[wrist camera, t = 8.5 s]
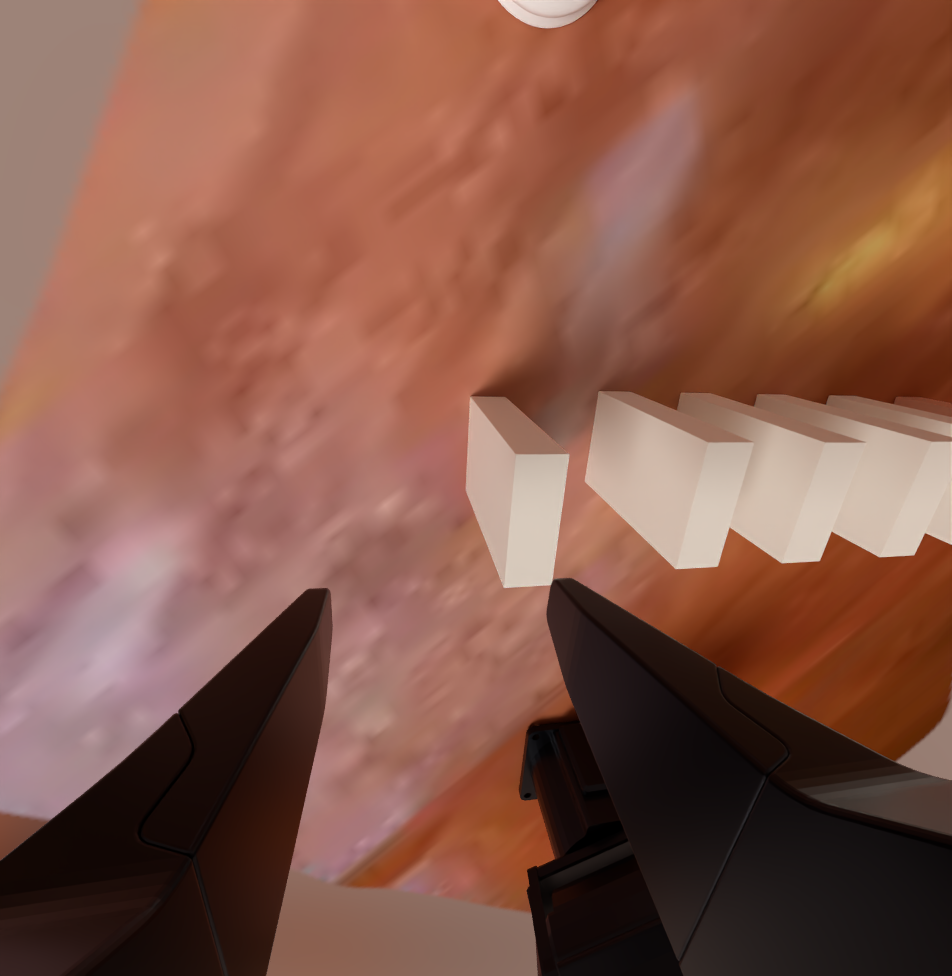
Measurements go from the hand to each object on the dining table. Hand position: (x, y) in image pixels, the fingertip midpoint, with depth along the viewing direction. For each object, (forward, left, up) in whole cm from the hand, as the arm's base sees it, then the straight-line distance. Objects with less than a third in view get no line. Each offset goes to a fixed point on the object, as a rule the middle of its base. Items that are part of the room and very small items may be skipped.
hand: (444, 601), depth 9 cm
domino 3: (0, -14, -12) cm, 18 cm away
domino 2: (0, -9, -12) cm, 15 cm away
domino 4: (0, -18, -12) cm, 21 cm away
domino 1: (-1, -3, -12) cm, 13 cm away
